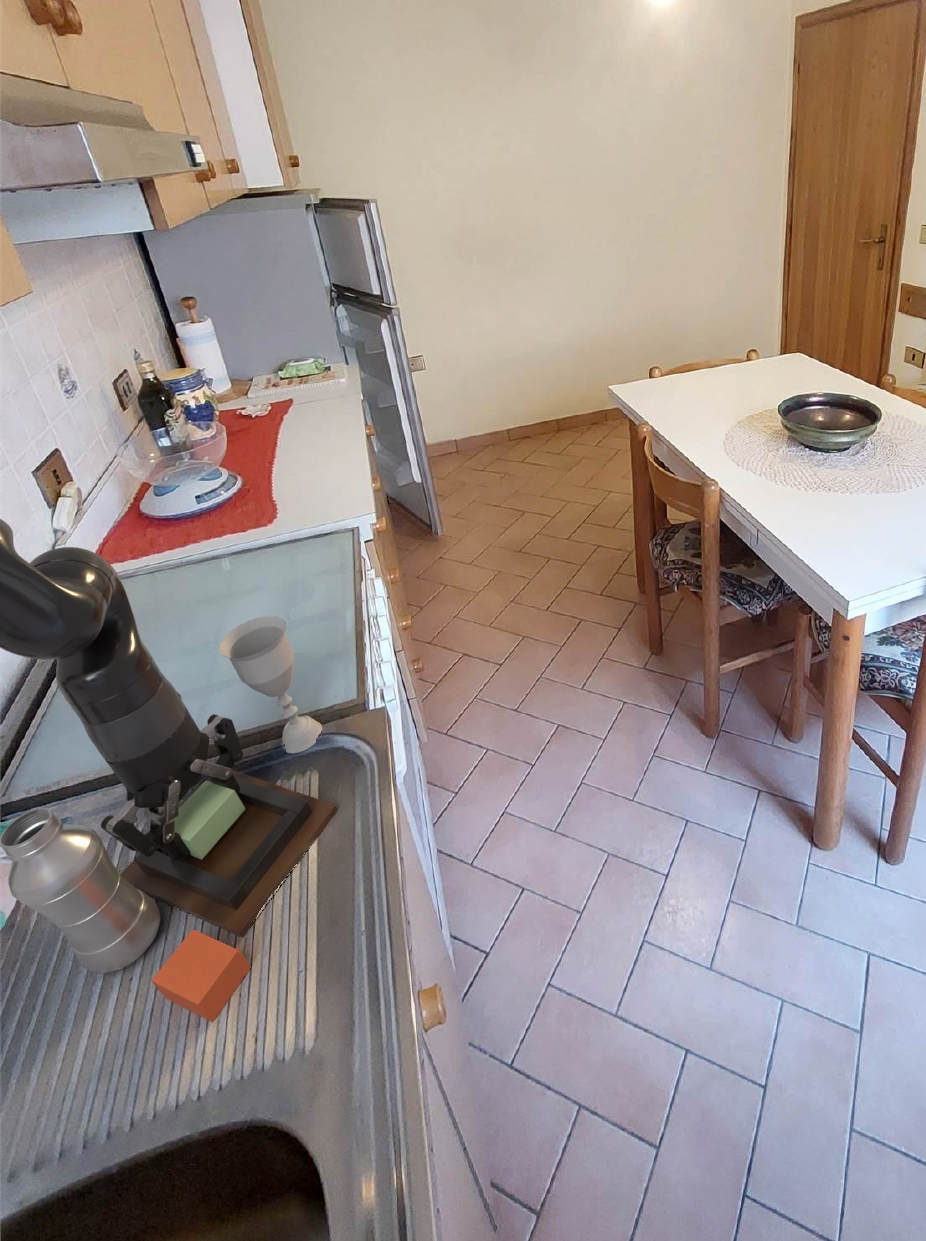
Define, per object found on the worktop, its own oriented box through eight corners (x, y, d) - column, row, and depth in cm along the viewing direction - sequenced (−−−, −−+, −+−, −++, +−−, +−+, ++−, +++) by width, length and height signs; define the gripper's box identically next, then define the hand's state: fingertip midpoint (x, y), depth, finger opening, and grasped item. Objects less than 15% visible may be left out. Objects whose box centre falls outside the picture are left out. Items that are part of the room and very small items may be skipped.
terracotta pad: (166, 999, 63) (150, 981, 61) (206, 947, 67) (192, 928, 65) (212, 1022, 61) (197, 1004, 59) (251, 968, 65) (238, 949, 63)
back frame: (120, 883, 73) (107, 868, 72) (225, 771, 84) (215, 756, 83) (242, 938, 67) (231, 922, 66) (338, 809, 78) (330, 794, 77)
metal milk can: (169, 950, 67) (70, 832, 57) (89, 999, 64) (-30, 883, 54) (166, 895, 71) (75, 777, 62) (91, 938, 68) (-18, 821, 59)
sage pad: (201, 860, 72) (188, 841, 71) (172, 848, 74) (158, 829, 72) (245, 809, 77) (234, 790, 76) (217, 798, 79) (205, 780, 77)
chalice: (332, 707, 92) (288, 609, 83) (329, 748, 86) (282, 646, 77) (275, 725, 90) (224, 626, 81) (269, 767, 84) (213, 666, 76)
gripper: (178, 664, 74) (234, 762, 82) (43, 779, 63) (124, 879, 71) (228, 678, 72) (281, 777, 80) (97, 800, 60) (175, 901, 68)
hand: (207, 825), depth 75 cm, fingers closed on sage pad, 6 cm apart
